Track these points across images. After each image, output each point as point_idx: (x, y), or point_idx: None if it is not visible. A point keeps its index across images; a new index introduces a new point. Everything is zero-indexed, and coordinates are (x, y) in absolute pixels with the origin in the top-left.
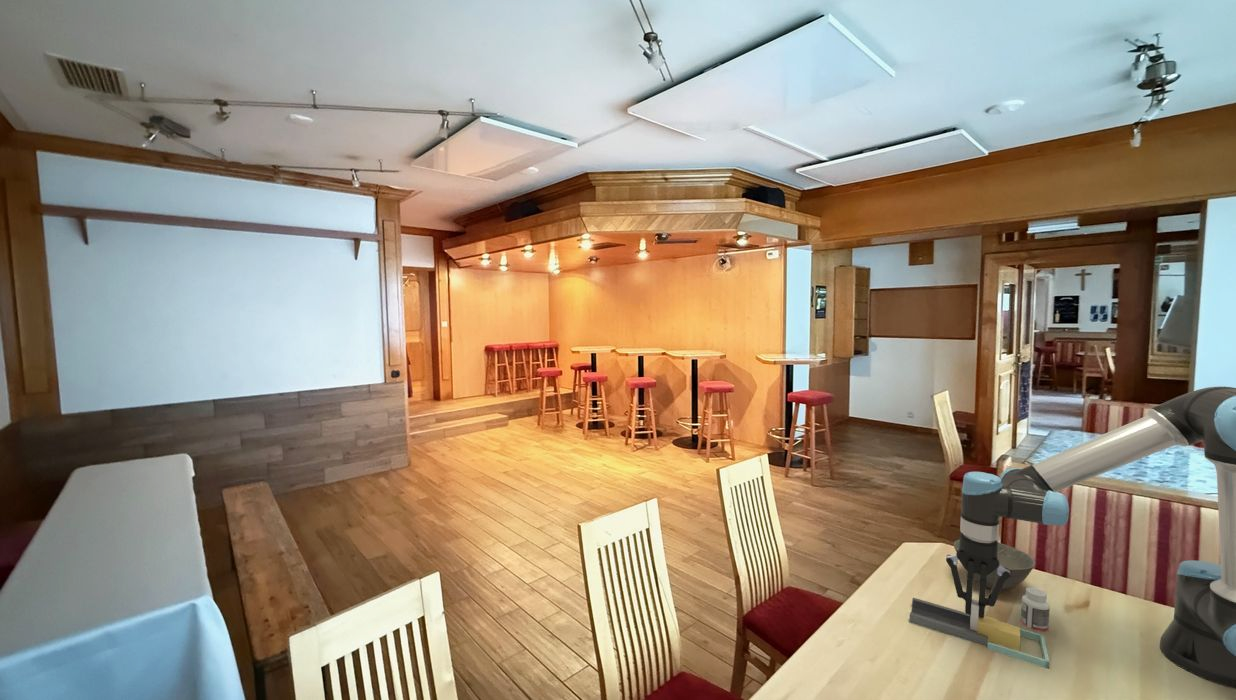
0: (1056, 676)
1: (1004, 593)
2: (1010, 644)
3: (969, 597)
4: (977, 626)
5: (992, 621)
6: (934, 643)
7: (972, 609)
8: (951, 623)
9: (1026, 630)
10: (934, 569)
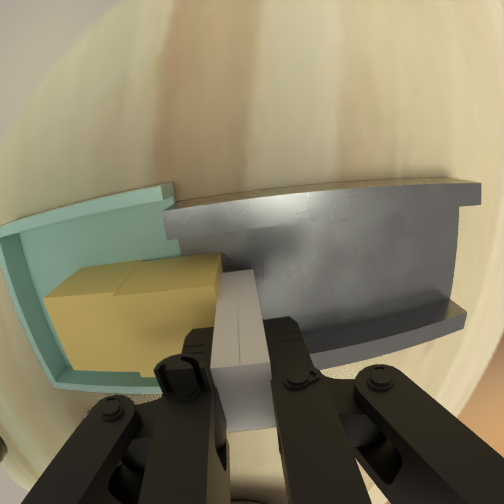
0: (4, 218)
1: None
2: (95, 272)
3: (300, 405)
4: (220, 284)
5: (153, 344)
6: (365, 105)
7: (255, 334)
8: (328, 289)
9: (87, 390)
10: None
